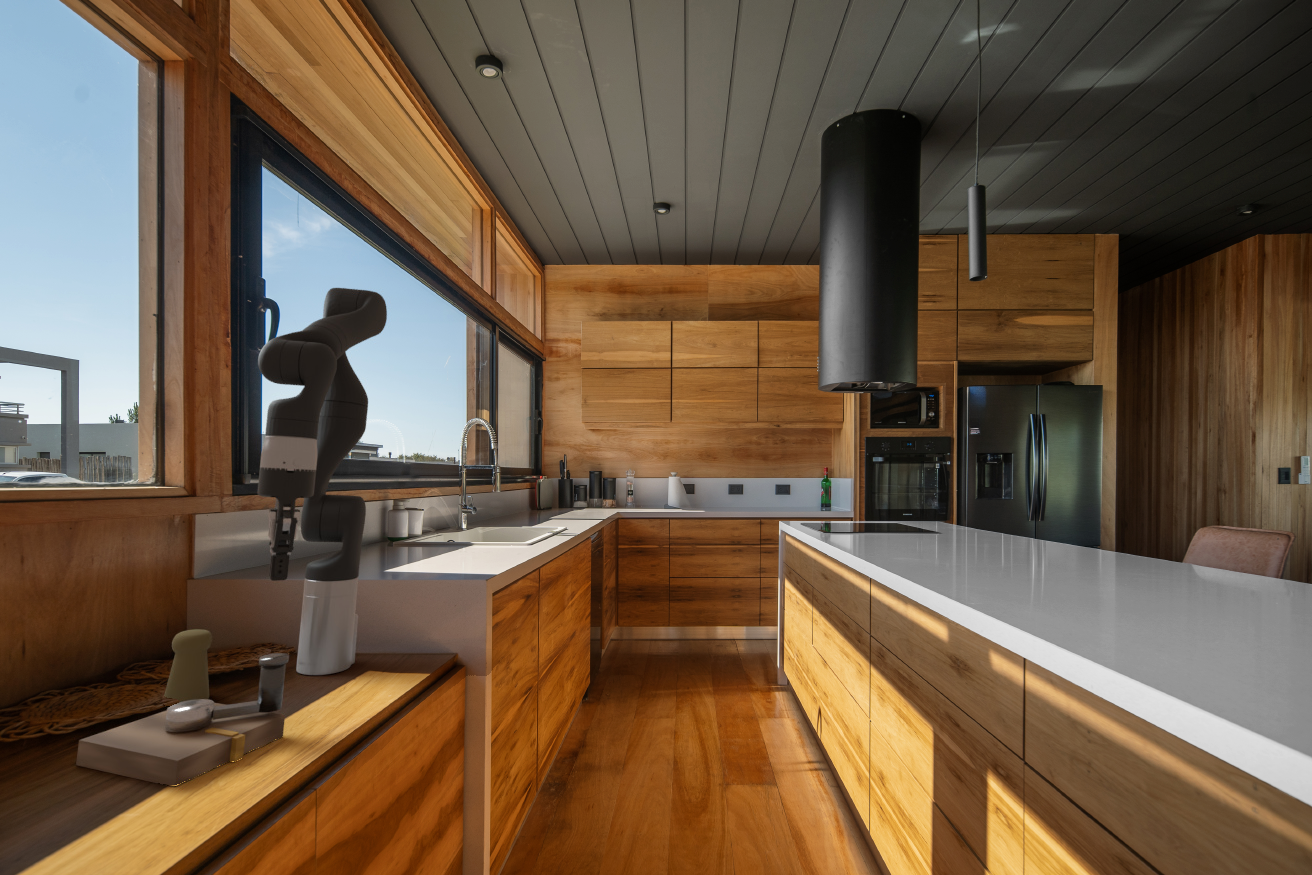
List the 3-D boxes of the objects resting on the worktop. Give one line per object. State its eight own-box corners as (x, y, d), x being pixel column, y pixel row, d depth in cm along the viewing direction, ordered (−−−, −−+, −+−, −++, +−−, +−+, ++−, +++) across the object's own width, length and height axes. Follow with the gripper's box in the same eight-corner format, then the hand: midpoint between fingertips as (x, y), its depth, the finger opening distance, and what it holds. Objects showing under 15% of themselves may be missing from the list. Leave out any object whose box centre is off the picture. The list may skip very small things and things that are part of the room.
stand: (195, 720, 89) (197, 698, 89) (287, 737, 84) (289, 714, 85) (76, 764, 74) (79, 738, 74) (179, 788, 70) (182, 759, 70)
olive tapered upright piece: (183, 708, 93) (190, 636, 93) (151, 704, 94) (159, 632, 95) (218, 695, 98) (225, 628, 99) (188, 691, 100) (196, 624, 101)
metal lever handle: (163, 734, 76) (170, 673, 77) (166, 721, 80) (173, 662, 81) (285, 715, 84) (290, 659, 84) (282, 704, 88) (287, 650, 89)
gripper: (258, 465, 97) (247, 573, 95) (262, 465, 86) (249, 587, 84) (311, 467, 101) (301, 571, 100) (321, 468, 90) (310, 584, 88)
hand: (277, 578), depth 92 cm, fingers closed
